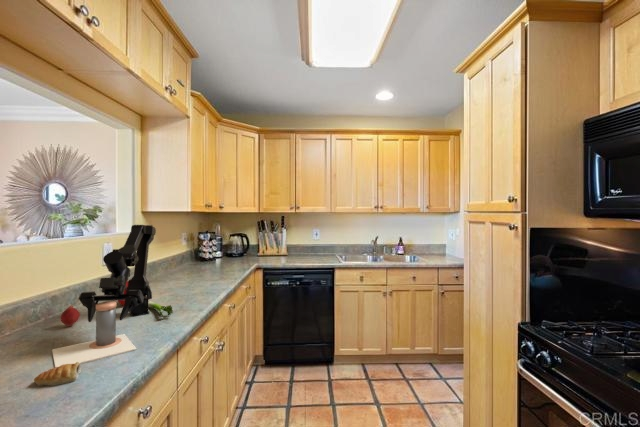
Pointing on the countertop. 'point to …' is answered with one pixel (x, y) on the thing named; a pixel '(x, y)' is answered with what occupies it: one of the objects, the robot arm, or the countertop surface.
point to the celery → (158, 307)
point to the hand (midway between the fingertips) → (104, 320)
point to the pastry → (59, 375)
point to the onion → (70, 316)
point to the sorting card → (91, 351)
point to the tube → (105, 323)
